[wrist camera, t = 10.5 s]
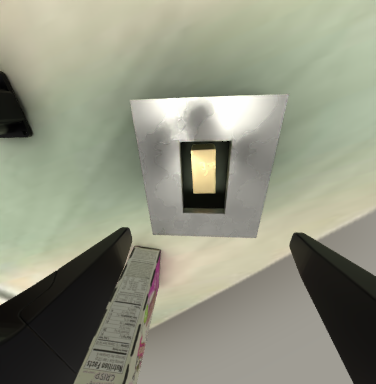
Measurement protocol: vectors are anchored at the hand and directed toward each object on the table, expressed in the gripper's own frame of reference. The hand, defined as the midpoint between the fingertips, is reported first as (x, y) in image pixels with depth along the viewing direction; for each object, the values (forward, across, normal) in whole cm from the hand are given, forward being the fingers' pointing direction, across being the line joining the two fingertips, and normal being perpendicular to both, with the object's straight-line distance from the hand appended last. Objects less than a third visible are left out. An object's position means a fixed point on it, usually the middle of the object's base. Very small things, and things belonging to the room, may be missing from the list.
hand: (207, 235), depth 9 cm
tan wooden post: (+12, 0, 0) cm, 13 cm away
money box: (+12, 0, 0) cm, 12 cm away
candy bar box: (+13, +10, +20) cm, 26 cm away
